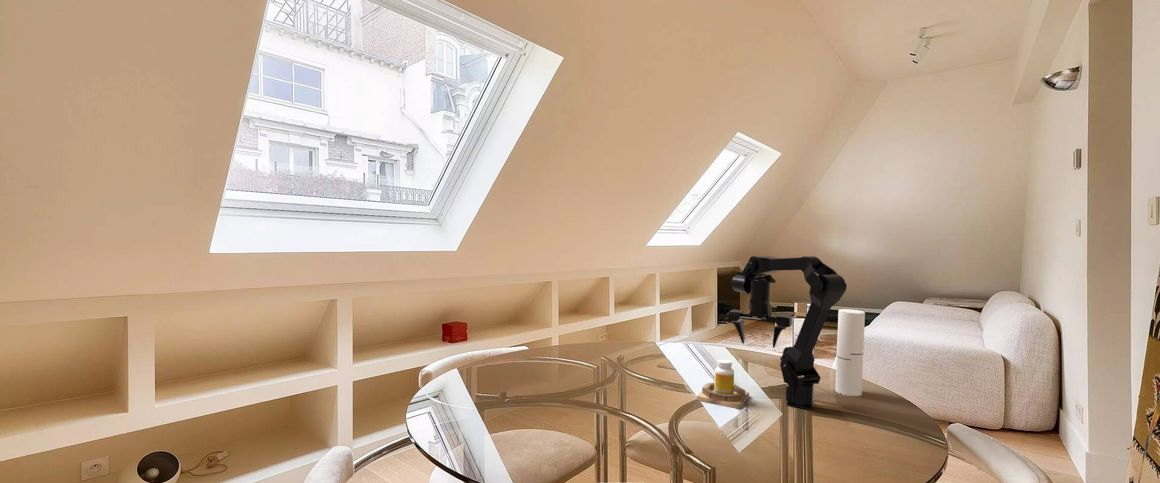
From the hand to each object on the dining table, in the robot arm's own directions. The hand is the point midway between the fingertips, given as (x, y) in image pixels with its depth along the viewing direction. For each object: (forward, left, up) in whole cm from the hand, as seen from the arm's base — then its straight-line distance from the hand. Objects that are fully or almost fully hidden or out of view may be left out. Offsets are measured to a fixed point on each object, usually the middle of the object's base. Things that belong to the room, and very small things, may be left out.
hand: (758, 345), depth 161 cm
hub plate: (+6, +17, -13) cm, 22 cm away
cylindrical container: (-25, -10, -13) cm, 30 cm away
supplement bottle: (+6, +17, -12) cm, 21 cm away
